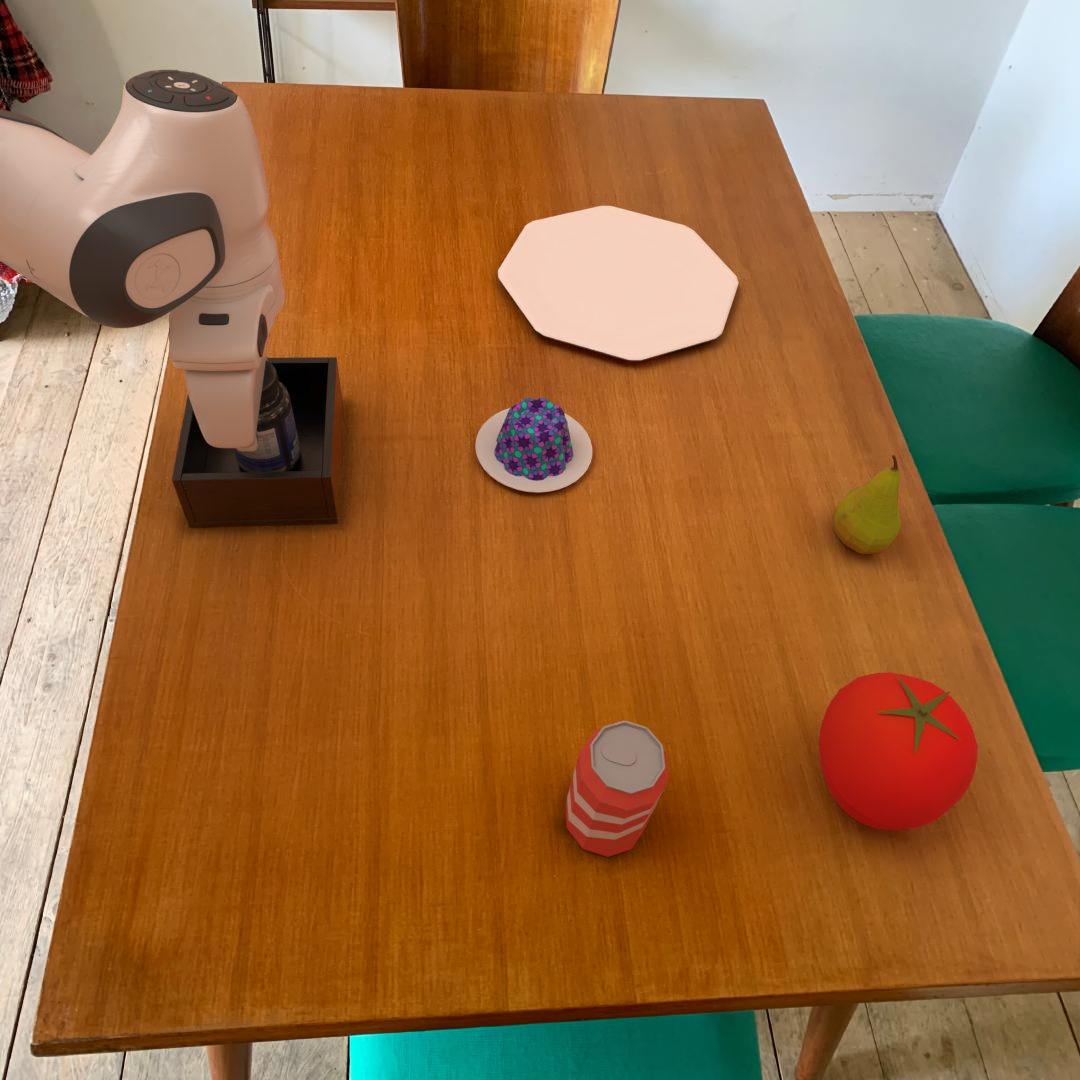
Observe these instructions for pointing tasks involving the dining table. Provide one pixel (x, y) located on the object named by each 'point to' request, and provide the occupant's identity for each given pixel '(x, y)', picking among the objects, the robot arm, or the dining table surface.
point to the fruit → (870, 513)
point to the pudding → (534, 447)
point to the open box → (270, 497)
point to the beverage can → (615, 787)
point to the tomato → (896, 751)
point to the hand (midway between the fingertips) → (253, 407)
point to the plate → (618, 283)
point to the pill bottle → (273, 430)
